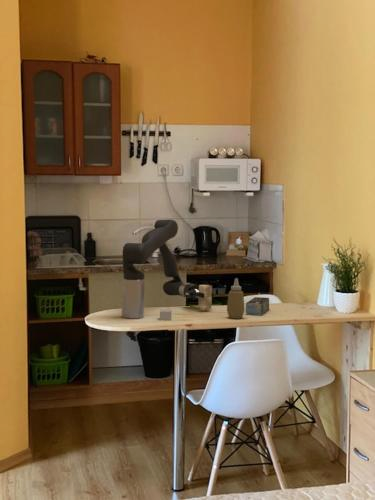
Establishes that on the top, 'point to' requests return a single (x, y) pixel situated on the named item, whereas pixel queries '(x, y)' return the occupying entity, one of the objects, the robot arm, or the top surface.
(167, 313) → the grey block
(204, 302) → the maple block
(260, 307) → the beverage carton
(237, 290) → the squeeze bottle
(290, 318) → the top surface
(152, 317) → the top surface
